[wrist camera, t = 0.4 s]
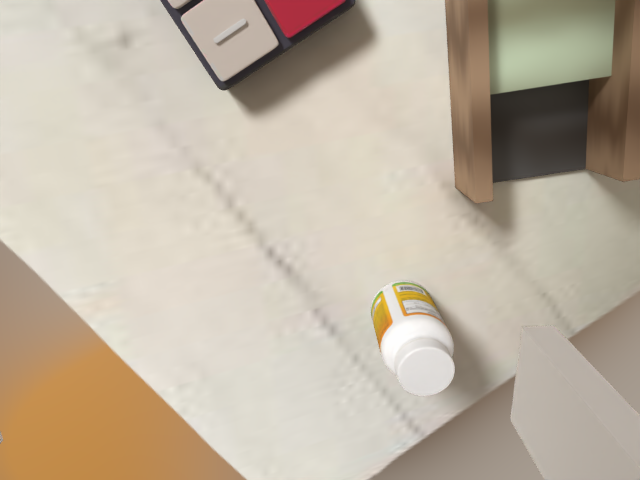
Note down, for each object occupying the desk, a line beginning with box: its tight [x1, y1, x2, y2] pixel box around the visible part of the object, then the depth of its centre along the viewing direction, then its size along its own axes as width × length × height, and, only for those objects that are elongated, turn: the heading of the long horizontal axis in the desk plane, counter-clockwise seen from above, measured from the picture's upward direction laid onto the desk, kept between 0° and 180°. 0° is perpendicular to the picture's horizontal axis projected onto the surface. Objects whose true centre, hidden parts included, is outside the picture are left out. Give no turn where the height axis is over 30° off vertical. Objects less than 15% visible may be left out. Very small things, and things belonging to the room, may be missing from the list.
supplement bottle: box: [371, 280, 455, 396], centre depth 37 cm, size 5×5×10 cm
